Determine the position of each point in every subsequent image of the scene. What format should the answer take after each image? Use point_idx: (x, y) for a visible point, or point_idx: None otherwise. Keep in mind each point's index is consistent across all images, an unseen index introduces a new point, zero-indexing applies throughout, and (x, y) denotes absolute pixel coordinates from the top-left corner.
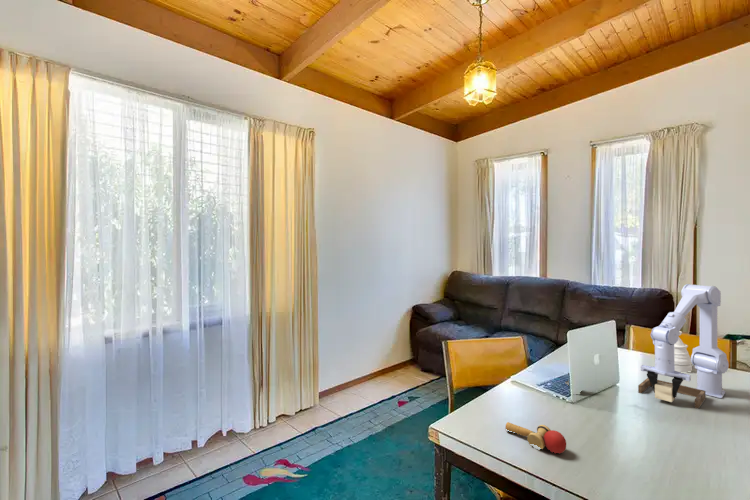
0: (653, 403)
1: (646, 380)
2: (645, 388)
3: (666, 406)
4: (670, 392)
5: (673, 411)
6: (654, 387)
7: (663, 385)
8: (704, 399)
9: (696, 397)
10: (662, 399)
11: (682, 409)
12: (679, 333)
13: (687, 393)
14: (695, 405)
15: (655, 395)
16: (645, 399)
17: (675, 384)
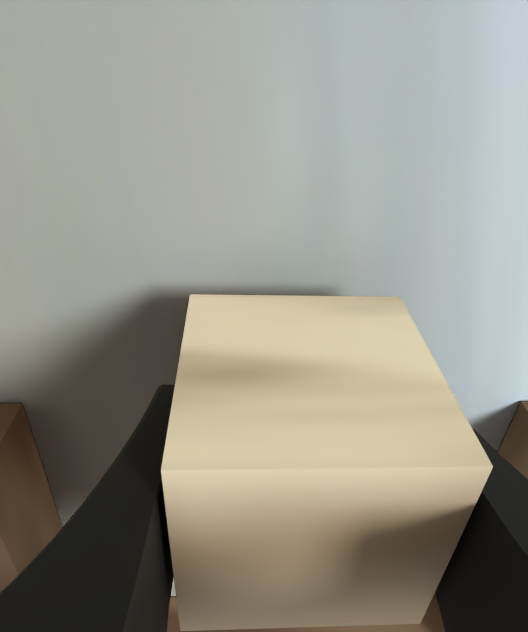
0: (396, 188)
1: None
2: None
3: (243, 209)
4: (193, 401)
5: (120, 69)
6: None
7: (332, 531)
8: None
9: (3, 546)
10: (305, 299)
11: (75, 257)
12: None
13: (176, 610)
14: (3, 424)
15: (403, 318)
16: (490, 259)
17: (47, 621)
